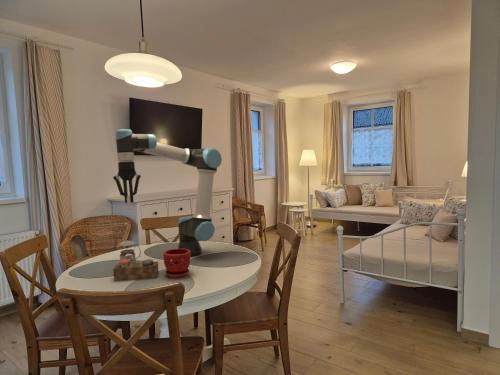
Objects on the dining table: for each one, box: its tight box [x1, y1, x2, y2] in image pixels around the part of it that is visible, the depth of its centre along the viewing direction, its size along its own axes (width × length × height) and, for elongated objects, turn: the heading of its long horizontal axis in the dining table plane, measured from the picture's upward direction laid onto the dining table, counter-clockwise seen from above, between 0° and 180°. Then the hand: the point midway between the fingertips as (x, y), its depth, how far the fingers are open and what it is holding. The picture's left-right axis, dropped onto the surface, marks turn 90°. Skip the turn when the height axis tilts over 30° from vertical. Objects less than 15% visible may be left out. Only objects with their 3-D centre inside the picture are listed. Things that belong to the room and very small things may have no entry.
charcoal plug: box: [141, 258, 154, 266], centre depth 159 cm, size 5×5×7 cm
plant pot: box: [163, 248, 192, 278], centre depth 160 cm, size 13×13×12 cm
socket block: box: [112, 261, 159, 282], centre depth 158 cm, size 20×7×6 cm, turn 100°
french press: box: [118, 222, 142, 264], centre depth 171 cm, size 10×12×25 cm
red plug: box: [118, 259, 130, 267], centre depth 157 cm, size 5×5×7 cm
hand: (129, 209), depth 158 cm, fingers closed
